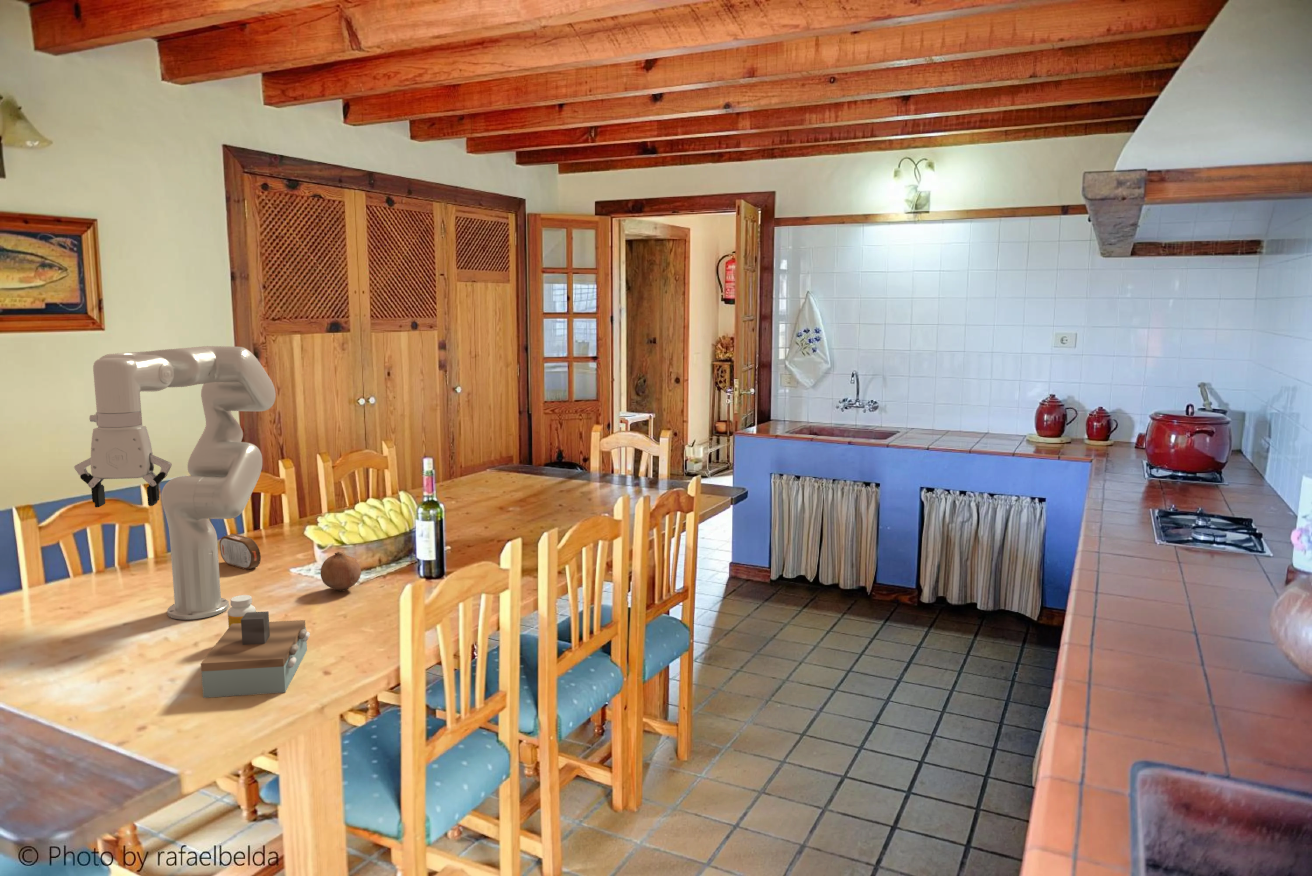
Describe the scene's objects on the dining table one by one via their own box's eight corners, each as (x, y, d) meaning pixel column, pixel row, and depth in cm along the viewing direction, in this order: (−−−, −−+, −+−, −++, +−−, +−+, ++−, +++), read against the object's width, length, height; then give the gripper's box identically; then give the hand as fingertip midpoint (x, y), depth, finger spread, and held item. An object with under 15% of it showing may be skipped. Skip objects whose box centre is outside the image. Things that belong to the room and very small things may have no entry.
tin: (262, 570, 234) (260, 539, 232) (251, 573, 231) (249, 542, 230) (229, 560, 241) (227, 531, 240) (218, 563, 239) (216, 533, 238)
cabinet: (234, 654, 178) (232, 631, 177) (313, 650, 181) (312, 626, 180) (203, 697, 158) (201, 671, 158) (292, 692, 161) (290, 666, 161)
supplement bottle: (228, 639, 186) (225, 596, 184) (256, 635, 188) (253, 592, 187) (230, 648, 181) (227, 603, 180) (258, 643, 184) (256, 599, 182)
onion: (315, 590, 218) (313, 551, 216) (351, 582, 224) (349, 544, 223) (331, 599, 211) (330, 559, 209) (368, 591, 217) (367, 552, 216)
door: (232, 630, 177) (230, 600, 176) (311, 626, 180) (310, 596, 179) (201, 671, 158) (198, 637, 157) (290, 666, 161) (288, 632, 160)
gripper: (62, 423, 167) (70, 510, 170) (160, 422, 171) (167, 508, 173) (80, 418, 175) (87, 502, 177) (174, 417, 178) (179, 499, 181)
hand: (126, 505), depth 175 cm, fingers open, 9 cm apart
